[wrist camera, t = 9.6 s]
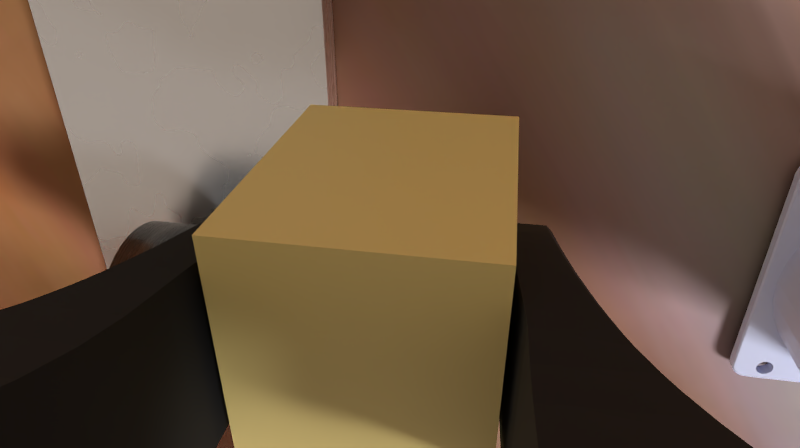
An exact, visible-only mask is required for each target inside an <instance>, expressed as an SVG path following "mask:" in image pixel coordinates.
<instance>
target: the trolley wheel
mask: <svg viewBox="0 0 800 448" xmlns="http://www.w3.org/2000/svg"><path fill="white" fill-rule="evenodd" d="M28 2H29V5H30V9H31V12H32V15H33V19H34V22H35V26H36V29H37V32H38V36H39V39H40V43H41V46H42V49H43V53H44V56H45V60H46V63H47V66H48V70H49V73H50V77H51V80H52V83H53V87H54V90H55V94H56V97H57V100H58V104H59V107H60V111H61V114H62V117H63V121H64V124H65V128H66V131H67V134H68V138H69V141H70V145H71V148H72V151H73V155H74V158H75V162H76V165H77V168H78V172H79V175H80V179H81V182H82V185H83V189H84V192H85V196H86V199H87V202H88V206H89V209H90V213H91V216H92V219H93V223H94V226H95V230H96V233H97V236H98V240H99V243H100V247H101V250H102V253H103V257H104V260H105V264H106V267H107V269H109V268H111V267H113V266H115V265H118V264H120V263H122V262H124V261H126V260H128V259H130V258H132V257H134V256H137V255H139V254H141V253H143V252H145V251H147V250H149V249H151V248H153V247H155V246H157V245H159V244H161V243H163V242H165V241H167V240H169V239H171V238H173V237H175V236H177V235H179V234H180V233H182V232H184V231H186V230H188V229H190V228H192V227H194V226H196V225H198V224H200V223H202V222H203V221H205V220H206V219H207V218H208V217H209V216H210V215H211V214H212V212H213V211H214V210H215V209H216V208H217V207H218V206H219V205H220V204H221V203H222V201H223V200H224V199H225V198H226V197H227V196H228V195H229V194H230V193H231V192H232V190H233V189H234V188H235V187H236V186H237V185H238V184H239V183H240V182H241V181H242V179H243V178H244V177H245V176H246V175H247V174H248V173H249V172H250V171H251V170H252V168H253V167H254V166H255V165H256V164H257V163H258V162H259V161H260V160H261V159H262V157H263V156H264V155H265V154H266V153H267V152H268V151H269V150H270V149H271V148H272V147H273V145H274V144H275V143H276V142H277V141H278V140H279V139H280V138H281V137H282V136H283V134H284V133H285V132H286V131H287V130H288V129H289V128H290V127H291V126H292V125H293V123H294V122H295V121H296V120H297V119H298V118H299V117H300V116H301V115H302V114H303V112H304V111H305V110H306V109H307V108H308V107H309V106H310V105H327V106H338V102H337V84H336V66H335V48H334V31H333V13H332V0H28Z"/></svg>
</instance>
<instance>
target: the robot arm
mask: <svg viewBox="0 0 800 448" xmlns="http://www.w3.org/2000/svg"><path fill="white" fill-rule="evenodd" d="M203 222H204V221H203ZM203 222H202V223H203ZM202 223H200V224H198V225H196V226H194V227H192V228H190V229H188V230H186V231H184V232H182V233H180V234H179V235H177V236H175V237H173V238H171V239H169V240H167V241H165V242H163V243H161V244H159V245H157V246H155V247H153V248H151V249H149V250H147V251H145V252H143V253H141V254H139V255H137V256H134V257H132V258H130V259H128V260H126V261H124V262H122V263H120V264H118V265H115V266H113V267H111V268H109V269H107V270H105V271H103V272H101V273H98V274H96V275H94V276H91V277H89V278H87V279H84V280H82V281H79V282H77V283H75V284H72V285H70V286H67V287H64V288H62V289H59V290H57V291H54V292H51V293H49V294H46V295H43V296H41V297H38V298H35V299H33V300H30V301H27V302H24V303H21V304H18V305H15V306H11V307H8V308H5V309H2V310H0V448H216V447H217V445H218V443H219V441H220V439H221V437H222V435H223V434H224V432H225V430H226V428H227V426H228V424H229V419H228V414H227V409H226V404H225V399H224V394H223V389H222V384H221V379H220V374H219V369H218V364H217V359H216V354H215V349H214V344H213V339H212V334H211V329H210V324H209V319H208V314H207V309H206V304H205V299H204V294H203V289H202V284H201V279H200V274H199V269H198V264H197V259H196V254H195V249H194V244H193V239H192V234H193V233H194V232H195V231H196V230H197V229H198V228H199V227H200V226H201V225H202ZM762 362H768V363H767V364H765V365H761V366H758V364H760V363H762ZM730 364H731V366H732V368H733V370H734V372H736V373H737V374H738V375H742V376H748V377H757V378H766V379H775V380H784V381H792V382H800V166H799V168H798V170H797V171H796V173H795V176H794V179H793V181H792V184H791V187H790V190H789V193H788V196H787V198H786V201H785V204H784V207H783V210H782V212H781V215H780V218H779V221H778V224H777V227H776V229H775V232H774V235H773V238H772V241H771V243H770V246H769V249H768V252H767V255H766V257H765V260H764V263H763V266H762V269H761V272H760V274H759V277H758V280H757V283H756V286H755V288H754V291H753V294H752V297H751V300H750V302H749V305H748V308H747V311H746V314H745V317H744V319H743V322H742V325H741V328H740V331H739V333H738V336H737V339H736V342H735V345H734V347H733V350H732V353H731V356H730ZM499 422H500V441H501V448H753V447H752V446H750V445H749V444H748V443H746V442H745V441H744V440H742V439H741V438H740V437H738V436H737V435H736V434H734V433H733V432H732V431H730V430H729V429H728V428H726V427H725V426H724V425H722V424H721V423H720V422H718V421H717V420H716V419H715V418H713V417H712V416H711V415H710V414H709V413H707V412H706V411H705V410H704V409H702V408H701V407H700V406H699V405H698V404H696V403H695V402H694V401H693V400H692V399H690V398H689V397H688V396H687V395H685V394H684V393H683V392H682V391H681V390H680V389H678V388H677V387H676V386H675V385H674V384H673V383H672V382H671V381H669V380H668V379H667V378H666V377H665V376H664V375H663V374H662V373H661V372H660V371H659V370H658V369H657V368H656V367H655V366H654V365H653V364H652V363H651V362H650V361H649V360H647V359H646V358H645V357H644V356H643V355H642V354H641V353H640V352H639V351H638V350H637V349H636V348H635V347H634V346H633V345H632V343H631V342H630V341H629V340H628V339H627V338H626V337H625V336H624V335H623V333H622V332H621V331H620V330H619V329H618V327H617V326H616V325H615V324H614V323H613V321H612V320H611V319H610V318H609V317H608V315H607V314H606V313H605V312H604V310H603V309H602V308H601V307H600V305H599V304H598V303H597V301H596V300H595V299H594V297H593V296H592V294H591V293H590V292H589V290H588V289H587V288H586V286H585V285H584V283H583V282H582V281H581V279H580V278H579V276H578V275H577V273H576V272H575V270H574V269H573V267H572V266H571V264H570V263H569V261H568V259H567V258H566V256H565V255H564V253H563V251H562V250H561V248H560V246H559V244H558V243H557V241H556V239H555V237H554V235H553V233H552V232H551V230H550V229H549V228H548V227H547V226H544V225H532V224H520V223H517V256H516V273H515V282H514V291H513V300H512V308H511V317H510V326H509V335H508V344H507V353H506V362H505V370H504V379H503V388H502V397H501V406H500V415H499Z"/></svg>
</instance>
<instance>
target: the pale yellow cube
mask: <svg viewBox="0 0 800 448" xmlns="http://www.w3.org/2000/svg"><path fill="white" fill-rule="evenodd" d="M518 151H519V117H516V116H499V115H482V114H465V113H447V112H430V111H413V110H396V109H379V108H361V107H344V106H327V105H310V106H309V107H308V108H307V109H306V110H305V111H304V112H303V114H302V115H301V116H300V117H299V118H298V119H297V120H296V121H295V122H294V123H293V125H292V126H291V127H290V128H289V129H288V130H287V131H286V132H285V133H284V134H283V136H282V137H281V138H280V139H279V140H278V141H277V142H276V143H275V144H274V145H273V147H272V148H271V149H270V150H269V151H268V152H267V153H266V154H265V155H264V156H263V157H262V159H261V160H260V161H259V162H258V163H257V164H256V165H255V166H254V167H253V168H252V170H251V171H250V172H249V173H248V174H247V175H246V176H245V177H244V178H243V179H242V181H241V182H240V183H239V184H238V185H237V186H236V187H235V188H234V189H233V190H232V192H231V193H230V194H229V195H228V196H227V197H226V198H225V199H224V200H223V201H222V203H221V204H220V205H219V206H218V207H217V208H216V209H215V210H214V211H213V212H212V214H211V215H210V216H209V217H208V218H207V219H206V220H205V221H204V222H203V223H202V225H201V226H200V227H199V228H198V229H197V230H196V231H195V232H194V233H193V234H192V239H193V244H194V249H195V254H196V259H197V264H198V269H199V274H200V279H201V284H202V289H203V294H204V299H205V304H206V309H207V314H208V319H209V324H210V329H211V334H212V339H213V344H214V349H215V354H216V359H217V364H218V369H219V374H220V379H221V384H222V389H223V394H224V399H225V404H226V409H227V414H228V419H229V424H230V429H231V434H232V439H233V444H234V448H496V441H497V433H498V424H499V415H500V406H501V397H502V388H503V379H504V370H505V362H506V353H507V344H508V335H509V326H510V317H511V308H512V300H513V291H514V282H515V273H516V256H517V203H518Z"/></svg>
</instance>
